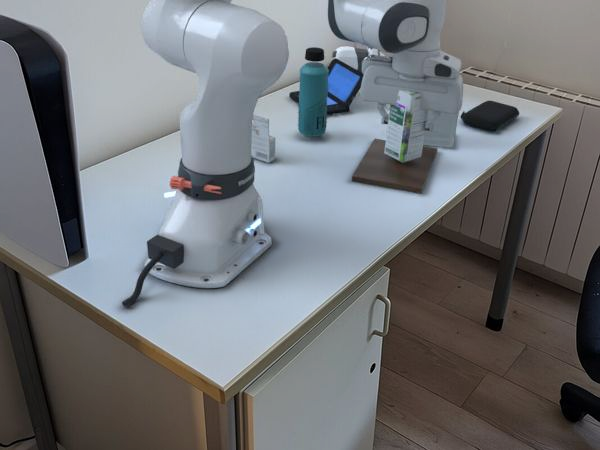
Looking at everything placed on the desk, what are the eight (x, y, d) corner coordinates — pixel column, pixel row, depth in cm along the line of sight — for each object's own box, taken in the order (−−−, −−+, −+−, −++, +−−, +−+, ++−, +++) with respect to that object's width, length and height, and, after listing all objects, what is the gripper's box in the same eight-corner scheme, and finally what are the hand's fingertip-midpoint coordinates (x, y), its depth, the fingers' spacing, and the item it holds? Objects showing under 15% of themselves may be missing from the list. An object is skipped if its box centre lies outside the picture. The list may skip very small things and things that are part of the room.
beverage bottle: (316, 145, 149) (320, 55, 139) (291, 137, 152) (293, 49, 142) (331, 135, 154) (336, 48, 143) (307, 128, 157) (310, 42, 147)
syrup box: (383, 153, 141) (390, 86, 134) (403, 147, 145) (411, 81, 137) (402, 163, 138) (411, 95, 130) (422, 157, 141) (432, 89, 133)
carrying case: (480, 107, 172) (453, 123, 162) (482, 96, 171) (455, 111, 161) (520, 118, 167) (494, 136, 157) (523, 106, 165) (497, 123, 155)
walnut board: (421, 193, 131) (422, 188, 130) (351, 181, 135) (352, 176, 134) (437, 153, 147) (437, 148, 147) (374, 143, 151) (374, 138, 150)
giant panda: (331, 81, 186) (333, 46, 181) (329, 75, 190) (331, 41, 185) (384, 82, 187) (387, 47, 182) (381, 75, 191) (384, 42, 186)
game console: (287, 97, 174) (287, 63, 169) (332, 90, 180) (334, 56, 175) (316, 118, 162) (318, 82, 158) (364, 110, 168) (367, 74, 163)
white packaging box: (453, 148, 150) (462, 94, 143) (419, 145, 151) (427, 90, 144) (453, 135, 156) (462, 82, 149) (421, 132, 157) (428, 79, 151)
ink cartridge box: (234, 146, 147) (233, 103, 142) (275, 159, 142) (276, 116, 137) (227, 150, 145) (226, 106, 140) (268, 163, 140) (269, 119, 135)
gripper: (359, 57, 131) (353, 124, 138) (466, 71, 126) (454, 140, 133) (366, 49, 136) (361, 113, 143) (469, 61, 131) (458, 128, 138)
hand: (407, 126), depth 138 cm, fingers closed on syrup box, 7 cm apart
